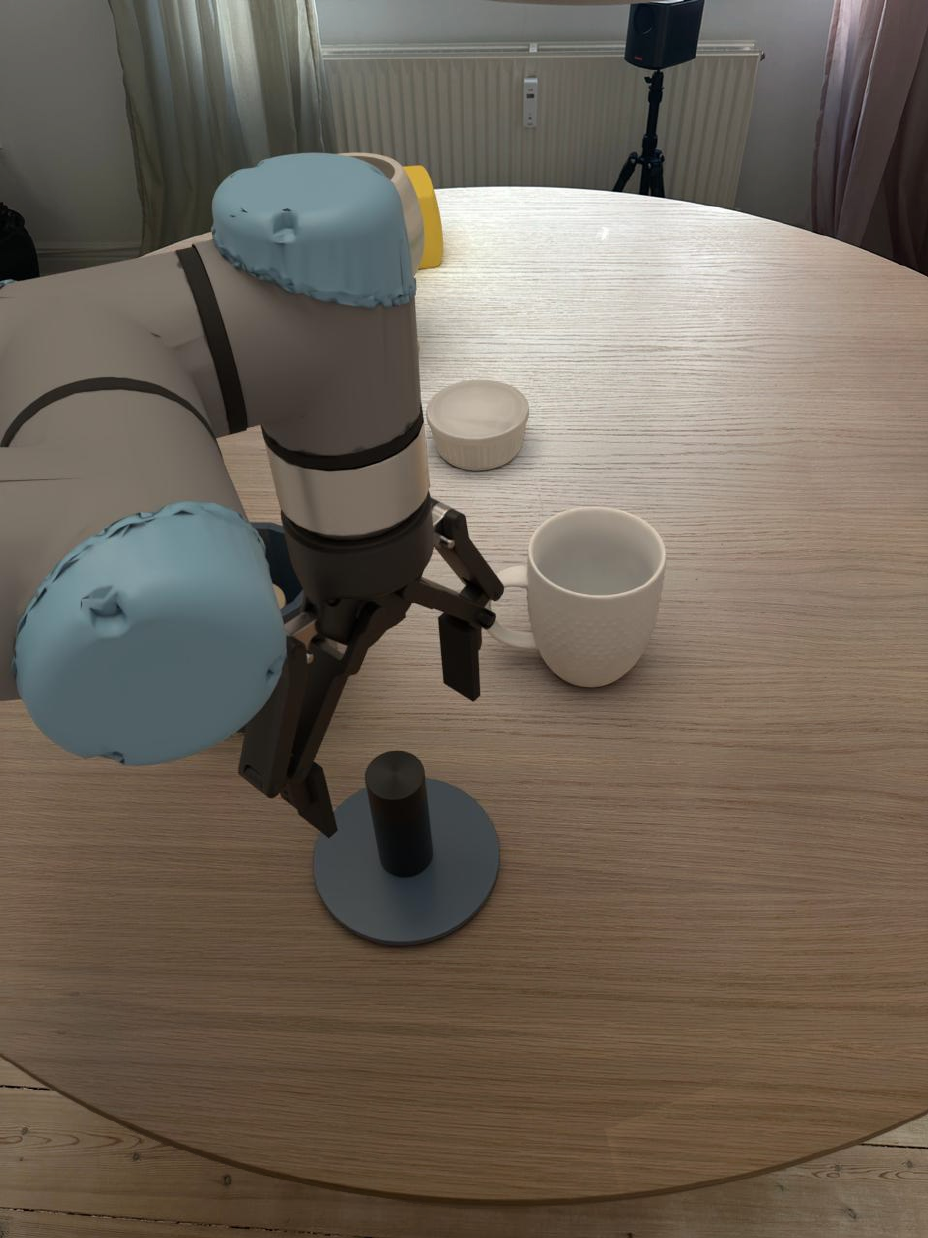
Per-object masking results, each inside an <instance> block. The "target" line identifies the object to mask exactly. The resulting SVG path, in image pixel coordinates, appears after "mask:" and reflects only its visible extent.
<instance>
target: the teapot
mask: <svg viewBox="0 0 928 1238" xmlns="http://www.w3.org/2000/svg"><path fill="white" fill-rule="evenodd" d="M402 167H403V168H404V170H405V171H406V173H407V175H408V177H409V178H410V180H411V182H412V185H413V187H414V189H415V192H416V194H417V197H418V201H419V204H420V207H421V212H422V216H423V223H424V233H425V243H424V252H423V257H422V260H421V263H420V266H419V268H418V270H423V269H431V268H436V267H439V266H440V265H441V263H442V259H443V253H444V235H443V234H444V233H443V225H442V218H441V213H440V208H439V203H438V200H437V195H436V192H435V188H434V185H433V181H432V178H431V177H430V175H429V173H428V170H427V169H426V168H425V167H424V166H422V165H408V166H406V165H405V166H402Z"/></svg>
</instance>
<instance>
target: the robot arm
mask: <svg viewBox="0 0 928 1238" xmlns="http://www.w3.org/2000/svg"><path fill="white" fill-rule="evenodd" d="M339 154H340V153H329V152H301V153H299V152H298V153H290V154H284V155H283V154H282V155H277V156H272V157H270V158H265V159H262V160H260V161H259V162H258V164H257V165H256V166H254V167H247V168H242V169H238V170H235V172H232V173H231V174H229V176H227V177H226V178H224V179H223V181H222V182H221V183H220V184H219V185H218V187H217V189H216V190H215V192H214V195H213V198H212V201H211V212H212V213H211V214H212V219H213V223H212V225H211V228H210V231H211V232H210V233H211V235H212V236H211V237H212V238H210V239H207V240H203V241H197V242H193V243H191V246H189V247H185V248H179V249H176V250H173V251H167V252H161V253H157V254H152V255H147V256H142V257H137V258H132V259H127V260H121V261H116V262H111V263H106V264H105V263H104V264H101V265H96V266H90V267H86V268H80V269H75V270H70V271H66V272H60V273H56V274H50V275H46V276H44V275H43V276H40V277H39V276H38V277H35V278H30V279H25V280H19V281H18V280H14V279H11V278H10V279H5V280H1V281H0V702H9V701H18V700H22V702H23V703H24V705H25V708H26V711H27V713H28V714H29V717H31V720H32V721H33V723H34V725H35V726H36V727H37V728H38V730H39V731H40V732H41V733H42V735H44V736H45V737H46V738H47V739H49V740H50V741H51V742H52V743H54V744H55V745H57V746H59V747H60V748H62V749H63V750H64V751H65V752H67V753H69V754H72V755H75V756H78V757H80V758H83V759H84V760H87V759H91V758H97V757H98V758H103V759H109V760H114V761H115V762H116V763H118V764H119V765H121V766H127V767H128V766H129V767H132V766H133V767H144V766H155V765H160V764H165V763H170V762H174V761H178V760H182V759H186V758H189V757H191V756H193V755H196V754H199V753H201V752H204V751H205V750H208V749H210V748H213V747H215V746H216V745H218V744H220V743H222V742H223V741H225V740H227V739H228V738H230V737H231V736H233V735H234V734H235V733H237V732H239V731H238V730H239V729H241V728H242V727H243V726H244V725H245V724H246V723H247V725H246V731H245V732H244V736H243V742H242V745H241V752H240V756H239V762H238V768H237V773H238V775H239V776H240V777H242V778H243V779H244V780H245V781H247V782H248V783H249V784H250V785H252V786H253V787H254V788H255V789H256V790H258V791H259V792H260V793H261V794H263V795H264V796H265V797H267V798H268V799H274V798H277V797H278V796H279V795H280V798H281V799H282V800H284V801H285V802H286V803H288V804H289V805H290V806H292V807H293V808H295V809H296V810H297V814H298V816H300V818H302V819H304V820H305V821H306V822H307V823H308V824H310V825H311V826H312V827H314V828H315V829H316V830H317V831H318V832H319V833H320V832H321V833H323V834H324V835H325V836H326V837H328V838H330V837H331V836H333V835H334V834H335V833H336V832H337V831H338V828H337V824H336V820H335V816H334V809H333V804H332V800H331V796H330V792H329V788H328V783H327V780H326V776H325V771H324V768H323V766H321V765H319V763H317V762H316V761H315V760H316V758H317V754H318V753H319V750H320V747H321V745H322V743H323V740H324V738H325V736H326V733H327V730H328V728H329V725H330V724H331V721H332V718H333V716H334V714H335V710H336V709H337V706H338V703H339V701H340V699H341V696H342V693H343V691H344V689H345V687H346V684H347V681H348V680H349V677H351V676H356V675H357V674H358V673H359V672H360V670H361V668H362V665H363V663H364V660H365V658H366V656H367V653H368V650H369V649H370V648H371V647H373V645H375V644H376V643H377V642H378V641H379V640H380V639H381V638H382V637H383V636H384V634H385V633H386V632H387V631H389V630H390V629H392V628H394V627H396V626H398V625H399V624H400V623H401V622H402V621H404V620H405V619H406V618H407V612H408V611H409V609H410V608H411V606H412V604H415V605H419V606H421V607H425V608H427V609H430V610H436V611H439V612H441V614H440V615H439V616H438V617H437V625H438V634H439V635H438V636H439V637H438V638H439V647H440V649H439V650H440V659H441V672H442V683H443V684H444V685H445V686H447V687H449V688H450V689H452V690H453V691H455V692H456V693H458V694H459V695H461V696H463V697H464V698H465V699H468V700H469V701H471V702H472V703H474V702H475V701H476V700H478V698H479V697H480V696H481V677H480V676H481V675H480V656H479V653H480V650H481V648H482V645H483V630H486V631H487V630H488V629H490V628H491V627H492V626H493V624H494V622H495V620H496V621H497V613H495V612H494V611H493V610H492V611H490V610H488V609H487V608H485V606H486V605H487V603H488V602H489V601H490V599H491V600H492V601H493V602H497V601H499V600H500V599H501V598H502V596H503V594H504V592H505V588H504V585H503V584H502V582H501V581H500V580H499V578H498V577H497V576H496V574H497V573H495V571H494V570H493V569H492V567H491V565H490V564H489V563H488V561H487V560H486V558H485V557H484V555H482V553H481V552H480V551H479V549H478V548H477V547H476V545H475V544H474V542H473V541H472V539H471V538H470V533H469V528H468V521H467V517H466V514H464V513H462V512H461V511H459V510H457V509H455V508H453V507H451V506H449V505H447V504H445V503H443V502H441V501H439V500H437V499H435V498H434V497H432V496H431V492H430V488H431V479H430V467H429V457H428V449H427V437H426V427H425V418H424V409H423V403H422V393H421V375H420V359H419V353H418V342H419V340H418V341H417V339H418V328H417V327H418V326H417V310H416V309H417V308H416V307H417V306H416V296H417V287H418V286H417V278H416V277H415V276H414V277H413V270H412V263H411V256H410V249H409V242H408V234H407V229H406V224H405V218H404V212H403V206H402V201H401V198H400V195H399V193H398V191H397V189H396V187H395V185H394V183H393V182H392V181H391V180H390V179H388V178H387V177H386V176H385V175H384V174H383V173H382V172H381V171H380V170H379V169H378V168H376V167H375V166H373V165H371V164H369V163H367V162H365V161H362V160H359V159H357V158H353V157H349V156H345V155H339ZM258 426H260V431H261V434H262V438H263V441H264V446H265V450H266V454H267V459H268V463H269V468H270V473H271V477H272V480H273V485H274V489H275V493H276V494H275V495H276V498H277V501H278V505H279V508H280V520H281V524H282V525H281V526H283V529H284V533H285V538H286V542H287V547H288V551H289V556H290V560H291V563H292V566H293V569H294V571H295V573H296V575H297V577H298V579H299V582H300V584H301V586H302V588H303V600H302V604H301V609H300V615H298V616H297V617H295V618H294V619H292V620H291V621H289V622H287V623H286V624H284V622H283V618H282V614H281V611H280V607H279V604H278V601H277V597H276V594H275V590H274V587H273V584H272V580H271V577H270V570H269V564H268V562H267V560H266V558H265V553H266V547H265V544H264V542H263V540H262V538H261V537H260V535H259V534H258V531H257V530H256V529H255V528H254V527H253V526H252V525H251V524H250V522H251V521H250V520H249V517H248V515H247V513H246V511H245V509H244V506H243V504H242V501H241V499H240V496H239V494H238V492H237V490H236V487H235V485H234V481H233V480H232V477H231V476H230V473H229V471H228V468H227V466H226V464H225V460H224V456H223V453H222V451H221V448H220V445H219V442H218V440H217V439H220V438H223V437H226V436H231V435H235V434H238V433H242V432H246V431H247V430H248V429H249V428H253V427H254V428H255V427H258ZM434 550H436V551H437V553H438V554H439V555H440V557H441V558H442V559H443V560H444V561H445V562H446V564H447V565H448V566H449V568H450V569H451V570H452V571H453V572H454V574H455V575H456V576H457V577H458V578H459V580H460V581H461V583H462V584H463V585H464V586H463V588H462V589H461V591H460V592H458V591H457V590H455V589H452V588H450V587H448V586H445V585H442V584H440V583H438V582H435V581H433V580H430V579H428V578H426V577H423V575H424V572H425V570H426V568H427V566H428V565H429V563H430V562H431V559H432V556H433V554H434ZM326 638H328V639H330V640H333V641H335V642H337V644H340V645H343V646H345V647H346V648H345V650H344V652H341V651H340V650H339V649H338V650H337V649H335V648H333V647H332V646H330V645H329V644H328V643H327V642H326Z"/></svg>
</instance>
